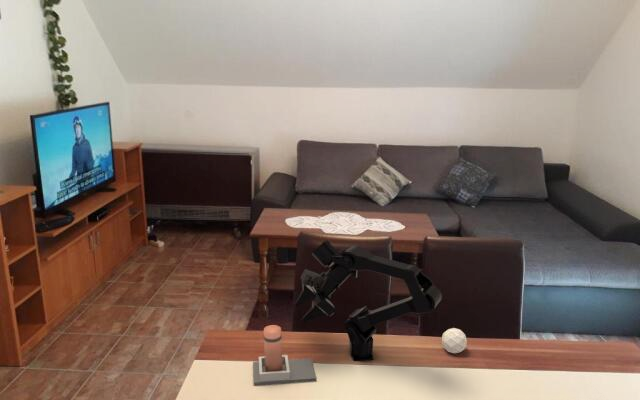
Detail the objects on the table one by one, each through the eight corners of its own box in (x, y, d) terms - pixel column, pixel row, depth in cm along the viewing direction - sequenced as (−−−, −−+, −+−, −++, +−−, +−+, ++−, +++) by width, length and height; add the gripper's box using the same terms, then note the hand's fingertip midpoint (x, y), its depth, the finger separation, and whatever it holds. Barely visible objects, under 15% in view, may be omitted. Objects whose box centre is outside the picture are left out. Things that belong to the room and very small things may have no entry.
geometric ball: (454, 355, 165) (466, 334, 166) (461, 360, 157) (474, 338, 158) (434, 342, 166) (446, 321, 166) (441, 347, 158) (454, 325, 158)
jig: (311, 361, 156) (312, 351, 155) (316, 381, 146) (316, 370, 145) (253, 364, 153) (252, 354, 152) (253, 385, 144) (253, 375, 143)
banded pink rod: (282, 365, 151) (280, 324, 147) (283, 376, 146) (282, 333, 142) (264, 366, 151) (263, 325, 146) (265, 377, 146) (263, 335, 142)
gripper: (309, 250, 161) (275, 285, 162) (326, 275, 144) (287, 314, 144) (331, 270, 166) (298, 304, 166) (350, 297, 149) (313, 334, 149)
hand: (298, 313), depth 156 cm, fingers open, 9 cm apart
